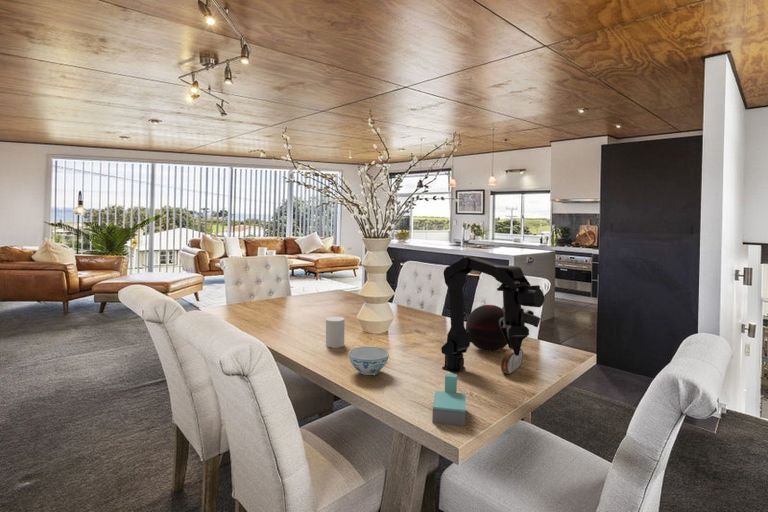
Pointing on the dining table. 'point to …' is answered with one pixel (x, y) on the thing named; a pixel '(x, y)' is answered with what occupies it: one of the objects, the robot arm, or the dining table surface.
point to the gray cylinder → (335, 332)
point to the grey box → (448, 417)
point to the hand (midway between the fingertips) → (514, 351)
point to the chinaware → (368, 359)
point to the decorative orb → (486, 328)
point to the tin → (511, 361)
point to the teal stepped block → (450, 396)
